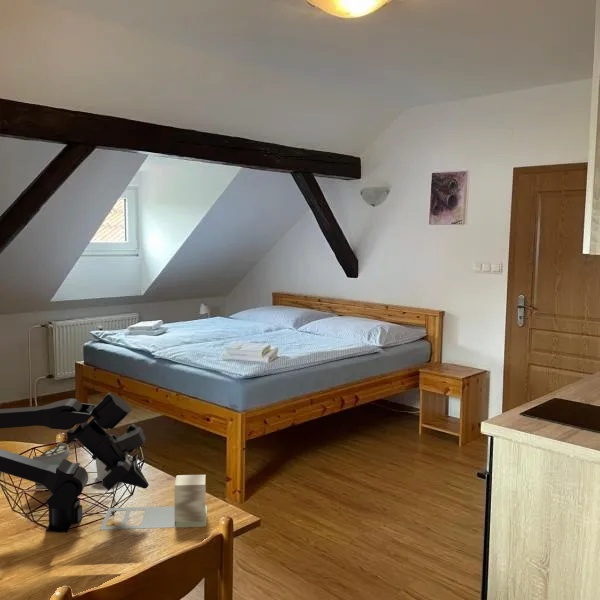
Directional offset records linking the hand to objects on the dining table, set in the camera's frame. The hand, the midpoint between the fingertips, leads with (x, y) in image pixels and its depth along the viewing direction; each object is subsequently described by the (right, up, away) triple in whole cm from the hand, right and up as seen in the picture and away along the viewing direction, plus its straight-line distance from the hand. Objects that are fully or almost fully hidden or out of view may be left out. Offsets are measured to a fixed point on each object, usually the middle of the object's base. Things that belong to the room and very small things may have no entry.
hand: (147, 486), depth 145 cm
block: (+10, -8, +2) cm, 13 cm away
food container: (-30, -6, +21) cm, 37 cm away
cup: (-18, -6, +26) cm, 32 cm away
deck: (+2, -9, +1) cm, 9 cm away
